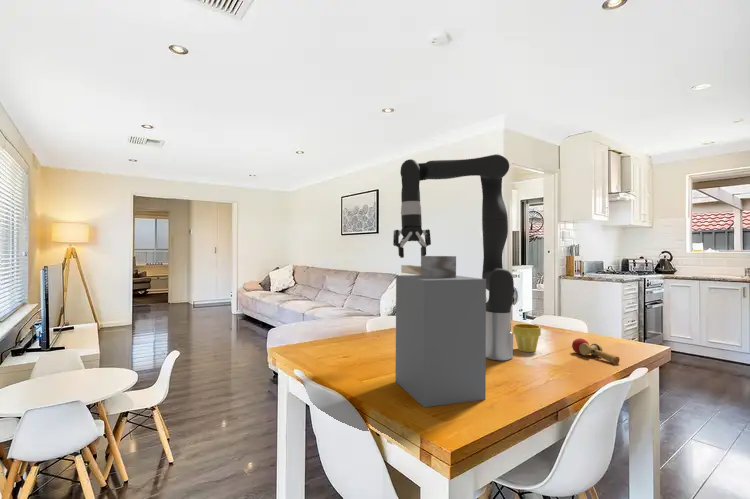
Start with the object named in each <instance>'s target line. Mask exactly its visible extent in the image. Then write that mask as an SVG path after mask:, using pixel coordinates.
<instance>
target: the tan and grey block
mask: <svg viewBox="0 0 750 499" xmlns="http://www.w3.org/2000/svg"><path fill="white" fill-rule="evenodd" d="M400 267H401V268H400V271H401V274H402V273H403V274H408V275H421V277H426V278H456V276H457V256H454V255H425V256H421V255H420V265H414V264H413V265H411V264H401V266H400Z"/></svg>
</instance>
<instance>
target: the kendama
mask: <svg viewBox="0 0 750 499" xmlns="http://www.w3.org/2000/svg"><path fill="white" fill-rule="evenodd" d="M571 348H572V350H573V352H574V353H576V354H578V355H581V354H582V355H583V356H589V355H590V354H591V356H592V355H593V356H592V357H595V356H596V358H597V357H600V359H603V360H605V361H607V362H610V363H612V364H614V365H618V364H619V363H620V359H621V358H620V357H619V356H617V355H613V354H610V353H608V352H605V351H603V347H602V346H601V345H600V344H599V343H591V345H590V343H589V342H588V341H587V340H586V339H584V338H581V337H579V338H576V339H574V340H573V341H572V344H571Z"/></svg>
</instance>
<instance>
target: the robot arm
mask: <svg viewBox="0 0 750 499" xmlns="http://www.w3.org/2000/svg"><path fill="white" fill-rule="evenodd" d="M509 169H510V161H509V160H508V158H507V157H506V156H504V155H502V154H499V153H497V154H490V155H486V156H481V157H475V158H466V159H439V160H438V159H437V160H436V159H435V160H428V161H427V162H421V163H418V162H417V161H416V160H415V159H413V158H412V159H407V160H405V161H403V163H401V167H400V170H399V171H400V177H401V192H400V193H401V194H400V195H401V196H400V197H401V206H400V207H401V208H400V215H401V216H400V217H401V229H400V230H399V229H394V230H393V242H392V244H393V246H394V247H396V248H397V249H398V256H399V258H401V259H403V258H404V257H405V253H404V246H405V245H406V243H407V242H417V243H418V244H419V245H420V246H421V247H420V257H421V256H427V247H428V246H431V244H432V242H431V230H430V229H428V228H427V229H422V227H423V226H422V224H423V223H422V221H423V220H422V206H421V191H420V189H421V188H420V182H421V181H425V180H448V179H450V180H451V179H455V178H462V177H472V176H479V178H480V183H481V192H482V206H481V207H482V208H481V211H482V212H481V215H482V216H481V227H482V228H481V231H482V247H483V248H482V249H483V262H482V273H481V274H482V275H481V279H486V291H488V301H486V359H489V360H491V361H492V360H493V361H509V360H511V359H513V358H514V333H513V331H511V330H512V329H511V327H512V324H511V323H512V322H511V321H512V315H511V314H512V313H511V312H512V305H513V304H514V291H515V290H514V289H515V287H514V286H515V285H514V284H515V282H514V277H513V275H512V273H511V272H510V271H509V270H508V269H505V268H504V267H503V254H504V253H503V252H504V249H505V245H506V242H507V238H508V234H509V224H508V223H509V221H508V220H509V219H508V211H507V207H506V205H505V201H504V197H503V191H502V190H503V189H502V188H503V178H504V177H505V176H506V175H507V173H508V171H509ZM422 235H423V236H424V238H423V237H422ZM400 236H402V238H401V239H399V238H400ZM399 240H400V242H399Z"/></svg>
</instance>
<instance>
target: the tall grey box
mask: <svg viewBox="0 0 750 499" xmlns="http://www.w3.org/2000/svg"><path fill="white" fill-rule="evenodd" d="M486 302H487V289H486V279H482V278H481V277H480V278H479V277H471V276H463V275H462V276H461V275H456V278H426V277H421V275H415V274H408V275H407V274H406V275H402V274H401V275H395V383H396V384H398V385H399V387H400V388H402V389H403V390H404V391H406V393H407V394H409V395H410V396H411V397H412V398H413V400H415V401H416V402H417V403H418V404H420V406H422V408H429V407H436V406H444V405H451V404H452V405H453V404H458V403H459V404H460V403H468V402H469V403H470V402H476V401H477V402H478V401H484V400H486V396H487V394H486V392H487V390H486V389H487V388H486V385H487V384H486V382H487V381H486V379H487V378H486V375H487V374H486V372H487V369H486V368H487V366H486V365H487V364H486V363H487V358H486Z"/></svg>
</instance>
